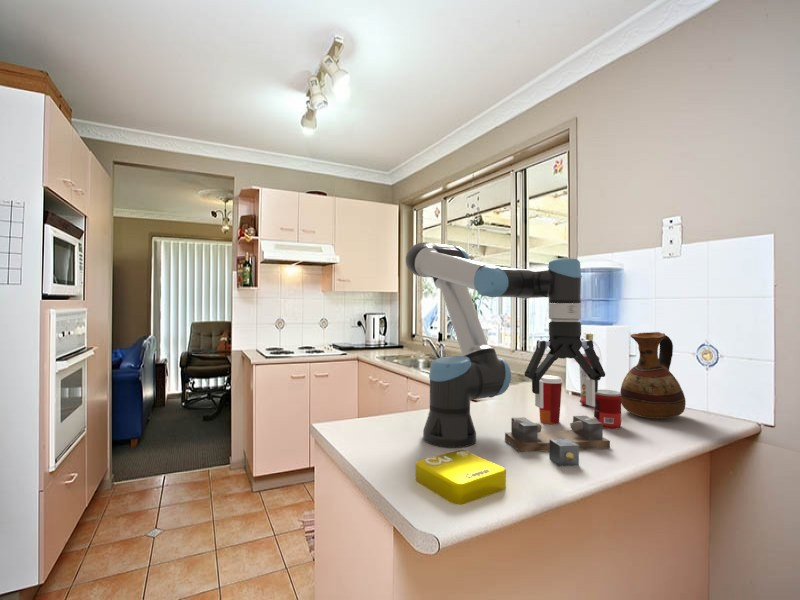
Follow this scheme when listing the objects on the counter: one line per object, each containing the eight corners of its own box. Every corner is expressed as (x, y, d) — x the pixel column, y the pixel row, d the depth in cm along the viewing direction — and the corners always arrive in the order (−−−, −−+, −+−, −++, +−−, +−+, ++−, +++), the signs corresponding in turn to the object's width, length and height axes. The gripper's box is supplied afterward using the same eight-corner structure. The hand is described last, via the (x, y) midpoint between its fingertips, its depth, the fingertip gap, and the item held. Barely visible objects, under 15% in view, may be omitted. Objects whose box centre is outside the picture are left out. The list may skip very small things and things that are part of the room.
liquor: (603, 406, 160) (603, 334, 161) (591, 408, 157) (591, 334, 157) (586, 402, 167) (587, 333, 167) (574, 404, 163) (575, 333, 163)
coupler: (580, 467, 100) (580, 446, 100) (561, 468, 99) (561, 447, 99) (566, 457, 106) (566, 437, 106) (547, 457, 106) (547, 438, 106)
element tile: (456, 508, 79) (456, 483, 79) (411, 480, 92) (411, 459, 92) (510, 489, 88) (510, 467, 88) (462, 466, 100) (462, 446, 100)
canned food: (626, 427, 133) (626, 393, 133) (608, 430, 130) (608, 395, 130) (606, 421, 140) (606, 388, 140) (588, 423, 137) (588, 390, 137)
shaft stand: (519, 451, 110) (519, 424, 110) (505, 439, 119) (505, 414, 120) (609, 448, 113) (610, 421, 113) (588, 436, 123) (588, 412, 123)
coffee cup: (561, 419, 141) (561, 375, 141) (564, 426, 133) (564, 379, 133) (535, 417, 143) (535, 374, 144) (536, 424, 135) (537, 378, 136)
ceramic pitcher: (608, 412, 152) (608, 330, 152) (641, 406, 161) (641, 329, 161) (663, 426, 134) (663, 334, 135) (697, 418, 144) (697, 332, 144)
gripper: (523, 321, 98) (523, 411, 97) (620, 321, 101) (621, 408, 101) (511, 320, 105) (511, 404, 105) (601, 320, 108) (602, 401, 108)
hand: (565, 406), depth 103 cm, fingers open, 13 cm apart
